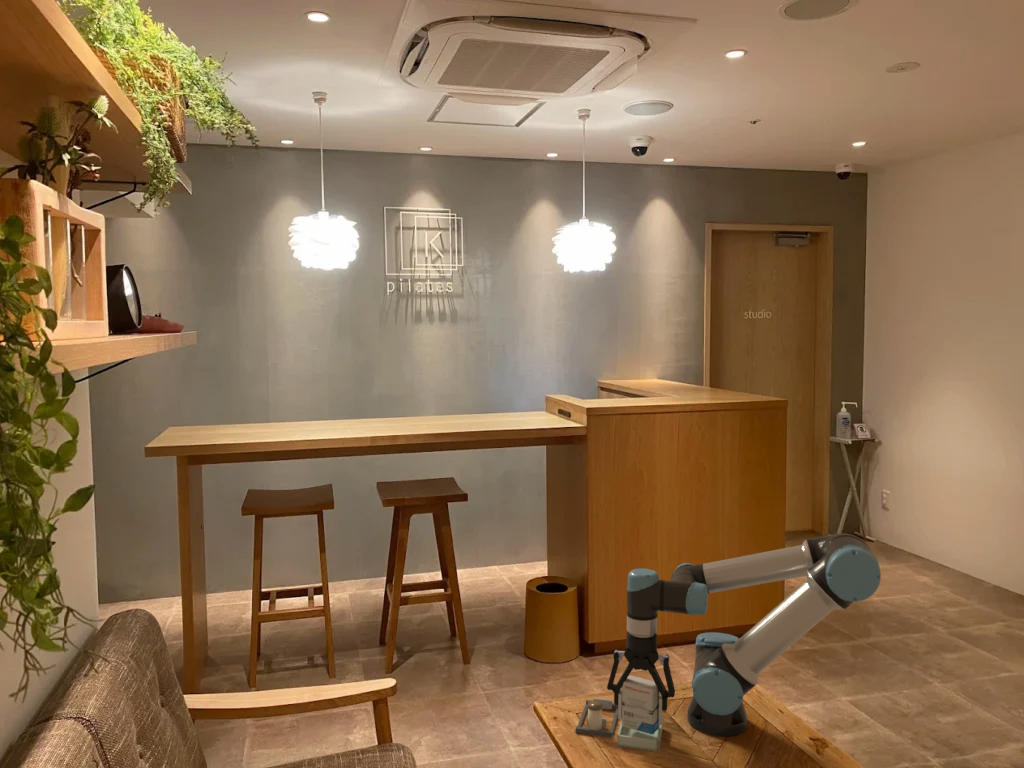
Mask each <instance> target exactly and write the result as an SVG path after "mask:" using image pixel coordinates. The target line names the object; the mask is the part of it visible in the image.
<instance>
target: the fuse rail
mask: <svg viewBox="0 0 1024 768" xmlns="http://www.w3.org/2000/svg"><path fill="white" fill-rule="evenodd" d="M590 701H599V702H601V703H602V704H603V708H602V710H603V709H604V710H615V713H614V714H613V720H612V723H611V724H610V725H611V726H610V730H606V729H607V717H606V718H605V717H602V730H591V729H589V728H588V715H587V713H588V702H590ZM586 715H587V716H586ZM585 717H586V727H585V726H584V727H583V726H582V725H583V723H584V721H585ZM617 721H618V705H615V704H614V702H613V700H612V699H606V698H598V697H593V699H592V700H589V699H586V700H585V705H584V708H583V710H582V713H581V715H580V718H579V721H578V722H577V723H578V724H577V726H575V733H576V734H582V735H589V736H595V737H597V736H598V737H604V738H611V739H612V737H613V734H614V731H615V727H616V725H617Z"/></svg>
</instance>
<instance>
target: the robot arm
mask: <svg viewBox="0 0 1024 768" xmlns="http://www.w3.org/2000/svg"><path fill="white" fill-rule="evenodd" d="M801 577H806V580H805V581H804V582H803V583H801V585H800V586H799V587H797V588H796V589H795V590H794V591H793V592H791V593H790V594H789V595H788V596H787V597H786V598H784V600H782V601H781V602H780V603H779V604H778V605H776V606H775V607H774V608H773V609H771V611H770V612H768V613H767V614H766V615H765V616H764V617H763V618H762V619H760V620H759V621H758V622H757V623H755V624H754V626H753V627H751V628H750V629H749V630H748V631H746V632H745V633H744V634H743V635H742V636H741V637H740V638H739V637H738V636H736V635H733V634H730V633H729V634H728V633H725V632H724V633H723V632H713V631H712V632H710V631H709V632H703V633H699V634H698V635H697V636H696V638H695V643H694V646H695V658H694V659H695V661H694V666H693V667H694V669H693V675H692V680H691V688H692V693H693V695H692V698H691V700H690V703H689V705H688V708H687V722H688V724H689V725H690V726H691V727H693V729H696V730H697V731H699V732H701V733H704V734H707V735H713V736H717V737H718V736H719V737H730V736H736V735H740V734H742V733H744V732H745V731H746V730H747V727H748V715H747V710H746V707H745V704H744V701H743V700H744V696H745V695H746V694H748V692H750V691H751V690H752V689H753V688H754V687H756V686H757V685H758V684H759V674H760V673H761V672H762V671H764V670H765V669H766V668H767V667H768V666H769V665H771V663H773V662H774V661H775V660H776V659H778V658H779V657H780V656H781V655H782V654H784V653H785V652H786V651H787V650H788V649H790V647H792V646H793V645H794V644H795V643H797V642H798V641H799V640H800V639H801V638H803V636H805V635H806V634H807V633H808V632H809V631H811V629H813V628H814V627H815V626H817V624H819V623H820V622H821V621H822V620H823V619H824V618H825V617H827V616H828V615H829V614H830V613H831V612H833V611H834V610H837V611H838V610H839V611H845V610H846V609H847V608H848V607H850V606H851V605H852V604H853V603H854V602H861V601H865V600H867V599H869V598H871V597H872V596H873V595H874V594H875V593H876V592H877V590H878V589H879V586H880V584H881V579H882V574H881V568H880V564H879V561H878V560H877V557H876V556H875V555H874V554H873V552H872V551H871V549H870V547H869V545H868V544H867V543H866V542H865V541H864V540H863V539H861V538H860V537H858V536H856V535H853V534H849V533H833V534H829V535H823V536H819V537H814V538H808V539H805V540H804V541H803V542H802V544H799V545H795V546H789V547H784V548H779V549H774V550H769V551H763V552H757V553H752V554H747V555H743V556H742V555H741V556H738V557H732V558H727V559H722V560H717V561H715V560H714V561H711V562H706V563H700V564H696V565H695V564H693V563H689V562H684V563H681V564H679V565H678V566H677V567H676V568H675V570H674V571H673V573H672V575H671V580H664V579H660V577H659V573H658V572H657V571H656V570H653V569H649V568H642V567H641V568H634V569H632V570H630V571H629V573H628V575H627V585H626V586H627V587H626V636H625V637H626V640H625V641H626V648H625V650H619V649H617V648H616V649H615V650H614V652H613V664H612V668H611V672H610V675H609V679H608V681H607V686H606V688H607V690H608V691H612V692H613V703H614V704H615V705H618V718H617V720H620V721H621V719H622V686H623V683H624V682H625V681H626V679H627V677H628V676H629V675H630V674H631V673H632V672H633V670H634V671H635V670H637V671H639V670H641V671H645V672H647V671H648V673H649V675H650V676H651V678H652V681H654V682H655V684H656V686H657V688H658V690H659V725H662V720H663V721H664V717H663V716H664V715H663V714H664V713H663V712H667V710H668V700H669V698H674V697H675V694H676V693H675V692H676V689H675V688H676V687H675V686H674V684H675V683H674V680H673V677H672V672H671V668H670V655H669V654H665V655H663V654H659V653H658V633H657V632H658V612H664V613H673V614H674V613H675V614H683V615H684V614H685V615H691V616H694V615H695V616H696V615H698V616H699V615H700V616H701V615H702V616H703V615H706V613H707V612H708V594H712V593H718V592H724V591H728V590H734V589H741V588H745V587H751V586H752V587H753V586H756V585H762V584H768V583H773V582H780V581H785V580H790V579H791V580H792V579H798V578H801ZM624 657H625V660H627V661H626V662H628V664H627V666H626V668H625V669H624V670H623V672H622V674H621V676H620V678H619V679H618V681H617V683H614V682H615V678H616V674H617V672H618V668H619V665H620V661H622V660H623V658H624ZM658 661H659V663H660V665H661V666H662V668H663V673H664V678H665V681H666V685H667V688H666V686H665V684H664V682H663V680H662V678H661V676H660V674H659V672H658V670H657V668H656V665H655V664H656V663H657V662H658Z"/></svg>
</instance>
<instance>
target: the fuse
mask: <svg viewBox="0 0 1024 768" xmlns="http://www.w3.org/2000/svg"><path fill="white" fill-rule="evenodd" d="M602 708H603V704H602V703H601V702H599V701H593V700H591V701H590V702H588V710H587V716H588V726H587V728H589V729H591V730H603V728H602V718H603V709H602Z"/></svg>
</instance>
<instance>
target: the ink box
mask: <svg viewBox="0 0 1024 768" xmlns="http://www.w3.org/2000/svg"><path fill="white" fill-rule="evenodd" d="M621 690H622V718H621V719H622V726H623V727H627V728H630V729H634V730H638V731H641V732H645V733H649V734H654V733H655V732H656V730H657V729H658V728H659V697H660V692H659V690H658V688H657V686H656V684H655V682H654V680H650V679H646V678H641V677H638V676H633V675H630V674H629V676H628V677H627V679H626V681H625V682H624V683H623V686H622V687H621Z"/></svg>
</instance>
